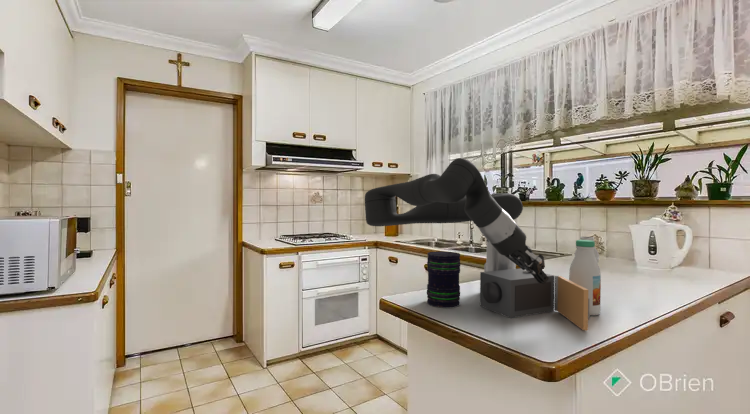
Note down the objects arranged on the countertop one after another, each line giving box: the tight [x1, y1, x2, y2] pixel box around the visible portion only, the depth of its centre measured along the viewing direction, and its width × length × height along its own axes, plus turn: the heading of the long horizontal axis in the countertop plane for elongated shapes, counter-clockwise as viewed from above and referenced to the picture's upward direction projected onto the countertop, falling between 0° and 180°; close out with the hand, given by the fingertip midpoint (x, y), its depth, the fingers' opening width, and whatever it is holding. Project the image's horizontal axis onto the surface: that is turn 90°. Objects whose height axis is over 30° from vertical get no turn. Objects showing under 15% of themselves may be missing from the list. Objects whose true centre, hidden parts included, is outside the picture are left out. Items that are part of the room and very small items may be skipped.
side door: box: [554, 275, 590, 331], centre depth 97 cm, size 17×2×10 cm, turn 175°
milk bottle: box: [568, 239, 602, 316], centre depth 105 cm, size 8×8×20 cm
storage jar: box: [426, 250, 461, 309], centre depth 113 cm, size 10×10×15 cm
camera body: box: [479, 267, 556, 319], centre depth 108 cm, size 18×12×11 cm
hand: (544, 280), depth 92 cm, fingers closed
